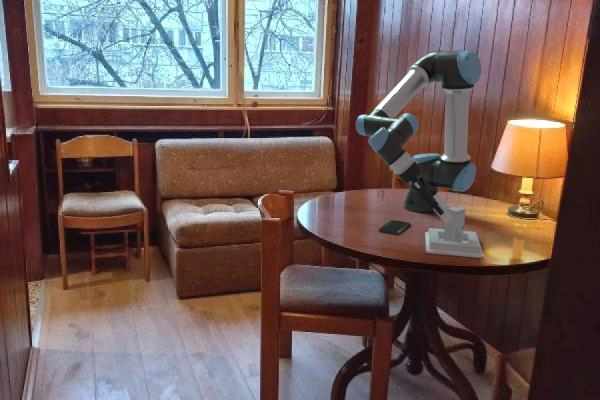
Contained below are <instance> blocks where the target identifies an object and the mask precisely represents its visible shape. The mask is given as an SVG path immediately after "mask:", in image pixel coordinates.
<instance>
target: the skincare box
mask: <svg viewBox="0 0 600 400" xmlns="http://www.w3.org/2000/svg"><path fill="white" fill-rule="evenodd" d="M449 207H450V206H449ZM446 212H447V213H448V214H449V215H450V216H451V217H452V219H451V220H450V221H449V222H447V223H446V224H445V223H444V239H443V241H451V242H463V231H465V230H464V228H465V220H466V219H465V218H466V208H465V207H461V206H460V207H459V206H451V207H450V208H448V209H446Z"/></svg>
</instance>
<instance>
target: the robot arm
mask: <svg viewBox="0 0 600 400" xmlns="http://www.w3.org/2000/svg"><path fill="white" fill-rule="evenodd" d="M481 63H482V62H481V60H480V57H479V56H478V54H477V53H475V51H471V50H470V51H469V50H462V49H461V50H434V51H431V52H429V53H427V54H425V55H423V56H421V57H419V59H417V60H415V62H413V63H412V64H411V65H410V67H408V68H407V69H406V70H407V71H406V74H405V76H404V77H402V79H401V80H400V81H399V82H398V83H397V84H396V85H395V86H394V87H393V89H391V90H390V92H389V93H388V94H387V95H386V96H385V97H384V98H383V99H382V100H381V101H380V102H379V103H378V104H377V106H375V108H374V109H373V110H371V112H370V113H369V114H367V113H365V114H361V115H358V117H357V119H356V121H355V129H356V132H357V133H358V134H359V135H360V136H365V137H367V138H368V137H370V138H369V139H368V142H367V143H368V144H369V146H370V147H371V148H372V150H373V151H374V152H375V153H376V154H377V155H378V157H380V159H382V161H383V162H384V163H385V164H386V165H387V166H388V167H389V171H391V172H392V171H393V173H394V174H396V175H397V177H398V179H399V180H401V182H402V183H403V184H408V183H409V187H408V191H407V193H406V195H405V198H404V200H403V208H404V209H406V210H408V211H413V212H415V213H435V214H436V215H438V217H439V218H440V219H441V220H442V222H444V225H445V224H446V223H447V222H449V221H450V220H451V219H452V217H451V216H450V215H449V214H448V213H447V212H446V209H448V208H450V205H449V204H448V203H447V202H446V201H445V200H444V199H443V197H441V195H440V194H439V190H438V188H441V189H446V190H450V191H454V192H461V193H462V192H466V191H468V190H469V188H471V186H472V185H473V183H474V182H475V179H476V175H477V167H476V164H474V163H473V162H471V161H472V160H471V158H472V157H471V156H470V154H468V135H469V131H468V130H469V111H470V109H469V108H470V107H469V106H470V92H472V90H473V89H474V88H475V84H476V83H478V82H479V80H480V79H481V75H482V64H481ZM433 82H434V83H435V82H437V83H441V89H442V90H443V91H444V92H445V111H444V112H445V114H444V115H445V116H444V144H443V145H444V146H443V147H444V149H443V151H444V153H442V154H439V153H420V154H415V155H413V156H411V155H410V154H409V153H408V152H407V150H405V148H404V147H403V146H404V145H405V144H406V143H407V142H408V141H409V140H410V139H411V138H412V137H413V136H414V134H415V133H416V132H417V130H418V129H419V126H420V125H419V120H418V118H416V116H415V115H414V114H411V113H408V112H405V113H403V114H401V115H400V116H398V117H396V116H397V115H398V114H399V113H400V112H401V111H402V110H403V109H404V108H405V106H406V105H407V104H408V103H409V102H410V101H411V100H412V99H413V98H414V96H415V95H416V94H417V93H418V92H419V91H420V90H421V89H422V88H426V87H427V86H428V85H429V84H430V83H433Z"/></svg>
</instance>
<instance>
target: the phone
mask: <svg viewBox="0 0 600 400" xmlns="http://www.w3.org/2000/svg"><path fill="white" fill-rule="evenodd" d="M410 227H411V222H406V221H401V220H397V219H396V220H395V219H391V220H389V221H388V222H387V223H386V224H384V225H382V226H381V227H380V228H378V232H379V233H382V234H383V233H384V234H388V235H393V236H400V234H402V233H403V232H404V231H405V230H407V229H408V228H410Z"/></svg>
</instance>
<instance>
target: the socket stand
mask: <svg viewBox="0 0 600 400" xmlns="http://www.w3.org/2000/svg"><path fill="white" fill-rule="evenodd" d="M424 236H425V237H424V238H425V239H424V241H425V253H426V254H433V255H434V254H435V255H444V256H445V255H446V256H455V257H457V256H458V257H465V258H466V257H467V258H477V259H478V258H479V259H485V255H484V252H483V249H482V247H481V243H480V240H479V238H478V234H477V232H476V231H470V230H469V231H468V230H464V231H463V242H451V241H443V239H444V229H443V228H435V227H434V228H433V227H429V228H428V231H425V232H424Z"/></svg>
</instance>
